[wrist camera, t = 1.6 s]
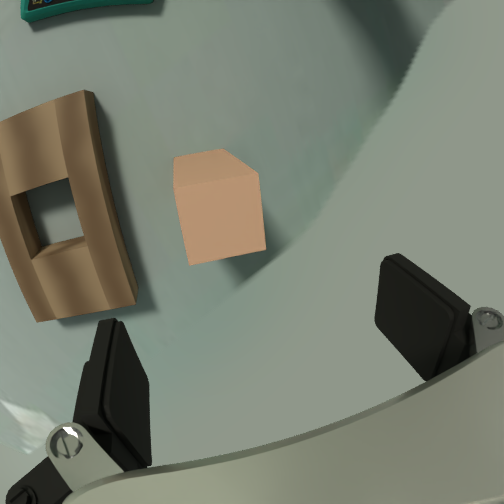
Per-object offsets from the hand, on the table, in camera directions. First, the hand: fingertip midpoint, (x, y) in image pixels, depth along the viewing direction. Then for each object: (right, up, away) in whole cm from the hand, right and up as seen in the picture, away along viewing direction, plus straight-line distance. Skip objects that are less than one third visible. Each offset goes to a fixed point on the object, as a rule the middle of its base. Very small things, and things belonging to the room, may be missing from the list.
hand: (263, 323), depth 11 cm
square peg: (-5, +10, +21) cm, 24 cm away
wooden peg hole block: (-21, +7, +18) cm, 28 cm away
